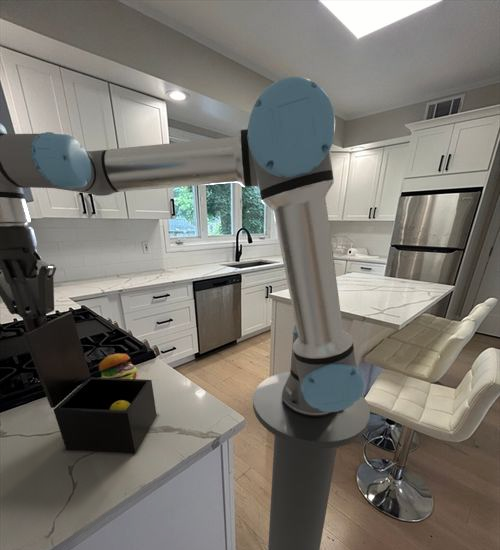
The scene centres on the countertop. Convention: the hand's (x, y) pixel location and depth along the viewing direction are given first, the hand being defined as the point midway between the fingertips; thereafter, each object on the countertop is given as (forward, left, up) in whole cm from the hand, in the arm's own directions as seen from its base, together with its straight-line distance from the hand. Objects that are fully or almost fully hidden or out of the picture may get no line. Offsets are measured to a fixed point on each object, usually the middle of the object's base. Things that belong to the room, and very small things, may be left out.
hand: (42, 345), depth 58 cm
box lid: (-4, 0, -3) cm, 5 cm away
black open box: (-11, 0, -22) cm, 25 cm away
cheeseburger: (-1, -22, -23) cm, 32 cm away
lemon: (-14, 0, -22) cm, 26 cm away
